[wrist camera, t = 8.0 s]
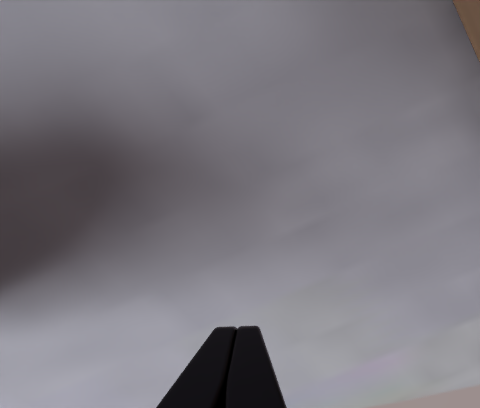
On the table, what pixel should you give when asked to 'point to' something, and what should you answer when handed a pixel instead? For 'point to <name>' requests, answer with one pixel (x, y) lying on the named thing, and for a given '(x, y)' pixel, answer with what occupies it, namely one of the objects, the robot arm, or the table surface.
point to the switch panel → (470, 20)
